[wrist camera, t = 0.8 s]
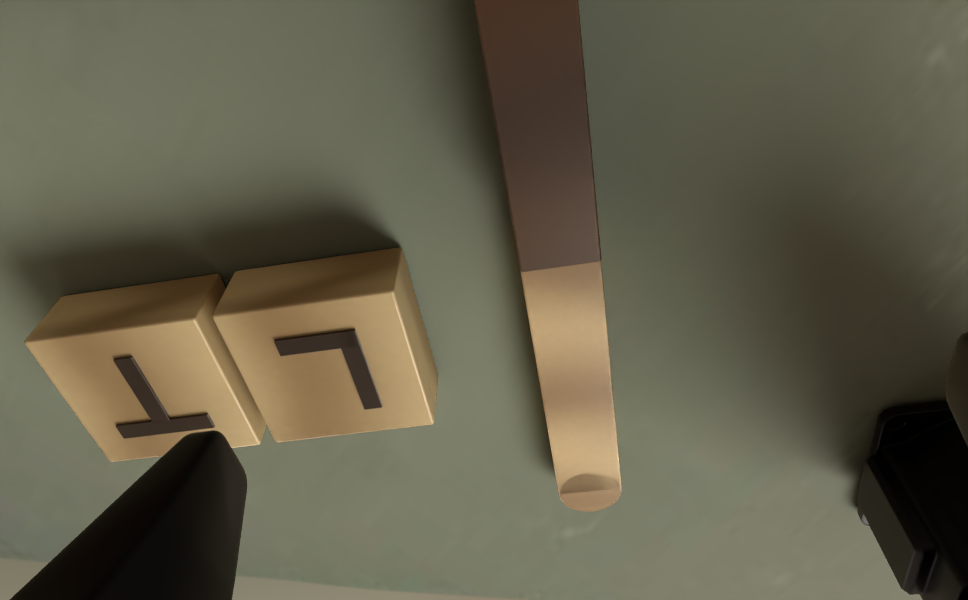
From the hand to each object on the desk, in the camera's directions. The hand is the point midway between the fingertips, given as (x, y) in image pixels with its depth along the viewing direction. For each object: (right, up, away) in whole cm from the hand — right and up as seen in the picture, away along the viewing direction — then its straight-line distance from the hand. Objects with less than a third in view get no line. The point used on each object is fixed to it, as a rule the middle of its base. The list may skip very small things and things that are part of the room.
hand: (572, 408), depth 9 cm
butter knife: (+1, +3, +13) cm, 14 cm away
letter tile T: (-12, 0, +16) cm, 20 cm away
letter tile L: (-6, +1, +15) cm, 16 cm away
